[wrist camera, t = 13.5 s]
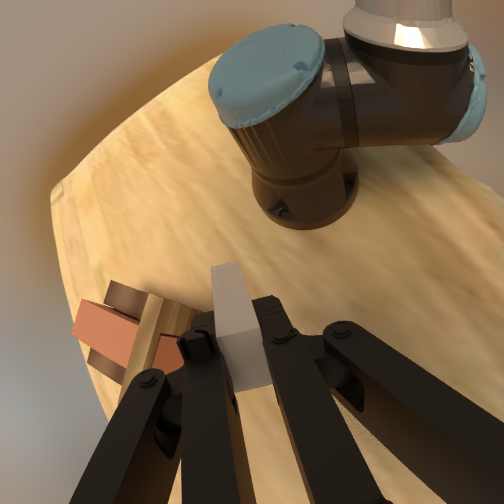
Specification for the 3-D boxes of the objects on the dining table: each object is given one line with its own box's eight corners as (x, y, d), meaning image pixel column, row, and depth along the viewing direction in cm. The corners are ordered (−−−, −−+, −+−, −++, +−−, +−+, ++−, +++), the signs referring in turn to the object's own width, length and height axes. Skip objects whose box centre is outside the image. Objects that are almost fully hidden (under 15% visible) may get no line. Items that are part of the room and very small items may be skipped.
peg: (190, 340, 35) (161, 335, 29) (179, 379, 33) (148, 380, 28) (112, 307, 40) (81, 298, 35) (102, 340, 39) (71, 334, 34)
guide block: (221, 318, 41) (164, 298, 29) (195, 402, 38) (131, 412, 26) (145, 293, 46) (82, 268, 34) (123, 365, 43) (56, 359, 31)
